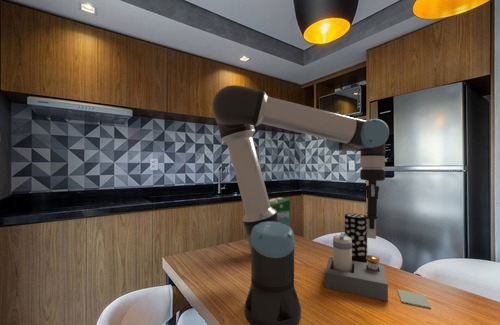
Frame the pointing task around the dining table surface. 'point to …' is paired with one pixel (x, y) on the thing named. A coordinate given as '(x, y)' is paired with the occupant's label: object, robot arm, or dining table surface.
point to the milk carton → (282, 209)
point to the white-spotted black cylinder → (357, 235)
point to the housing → (358, 280)
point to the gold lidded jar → (372, 262)
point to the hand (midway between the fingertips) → (371, 237)
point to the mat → (413, 298)
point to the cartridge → (342, 253)
